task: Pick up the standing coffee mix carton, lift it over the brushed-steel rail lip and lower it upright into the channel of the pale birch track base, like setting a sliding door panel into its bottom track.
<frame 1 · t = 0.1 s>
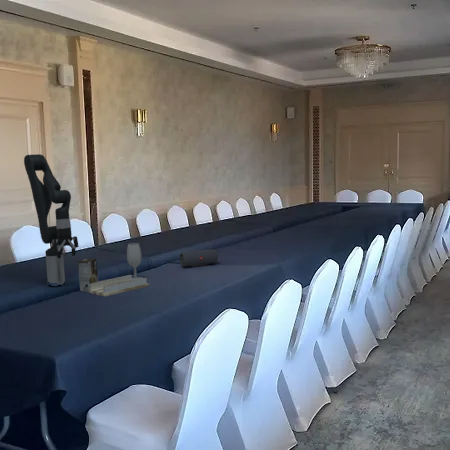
hand: (66, 256, 301), 17 cm above the table, tool pointing down, fingers open, 8 cm apart
wineglass: (135, 280, 316), on the table
coffee box: (89, 289, 299), on the table
bluetooth speaker: (199, 266, 350), on the table
track base: (118, 289, 296), on the table
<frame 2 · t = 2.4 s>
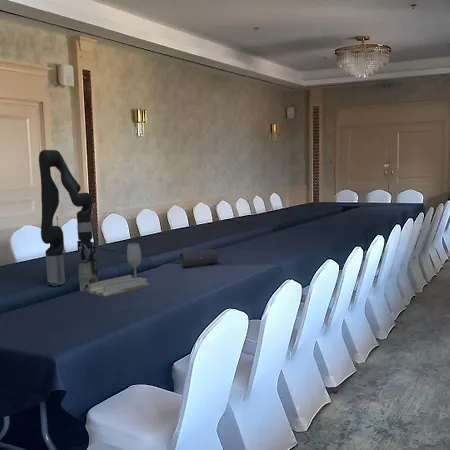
hand: (87, 260, 297), 16 cm above the table, tool pointing down
coffee box: (89, 290, 299), on the table, touching gripper
everything else where it was.
when the fingers open (15 cm above the table, at t = 2.6 s): coffee box stays where it is, on the table.
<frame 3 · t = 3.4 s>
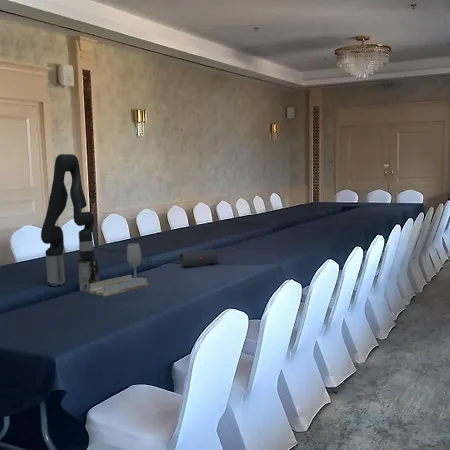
hand: (89, 279, 298), 6 cm above the table, tool pointing down, fingers open, 8 cm apart
coffee box: (89, 289, 299), on the table
everything else where it was.
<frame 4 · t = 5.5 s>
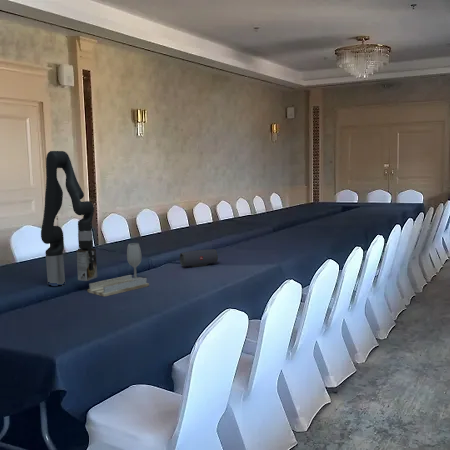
hand: (87, 268, 297), 11 cm above the table, tool pointing down, fingers closed on coffee box, 8 cm apart
coffee box: (87, 279, 298), point 6 cm above the table, touching gripper
everything else where it was.
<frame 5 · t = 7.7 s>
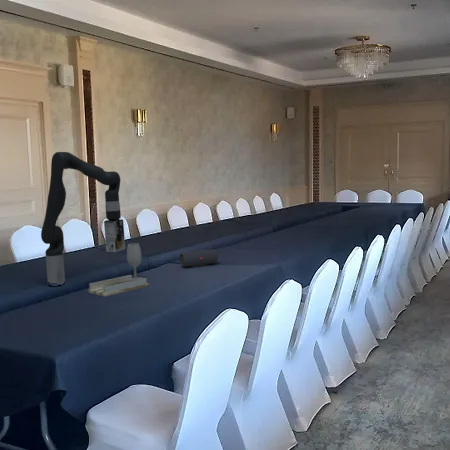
hand: (115, 240, 293), 26 cm above the table, tool pointing down, fingers closed on coffee box, 8 cm apart
coffee box: (115, 250, 294), point 21 cm above the table, touching gripper
everything else where it was.
when the fingers open (8 cm above the table, at t = 11.2 s): coffee box drops 1 cm, resting on track base.
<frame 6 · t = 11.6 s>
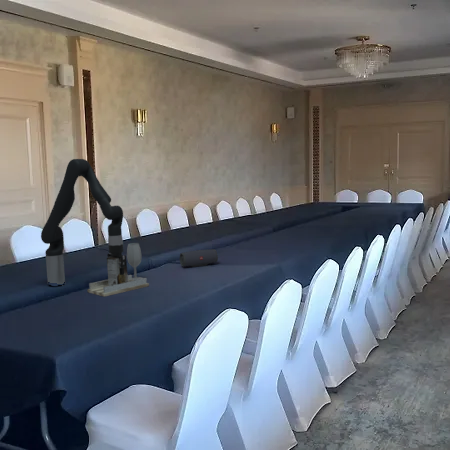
hand: (117, 273, 295), 8 cm above the table, tool pointing down, fingers open, 8 cm apart
coffee box: (118, 286, 296), point 1 cm above the table, touching track base
everything else where it was.
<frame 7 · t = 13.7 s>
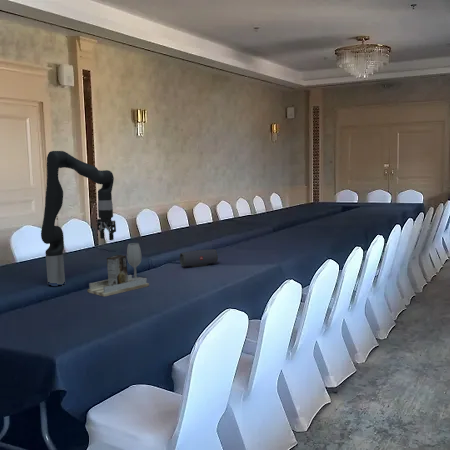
hand: (106, 239, 293), 27 cm above the table, tool pointing down, fingers open, 8 cm apart
nothing on the table moved.
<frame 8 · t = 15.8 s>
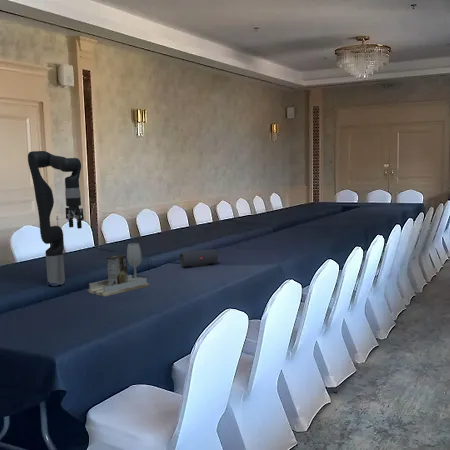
hand: (75, 227, 290), 34 cm above the table, tool pointing down, fingers open, 8 cm apart
nothing on the table moved.
at the end: coffee box inside the target area on the track base (0.0 cm from its centre), point 1.3 cm above the track base's base; coffee box tilted 0°; the gripper is holding nothing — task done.
